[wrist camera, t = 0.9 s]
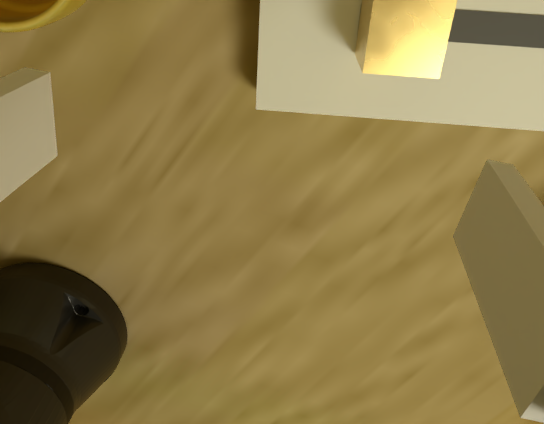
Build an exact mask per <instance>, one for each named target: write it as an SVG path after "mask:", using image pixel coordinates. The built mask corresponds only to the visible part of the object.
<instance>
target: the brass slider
mask: <svg viewBox="0 0 544 424" xmlns="http://www.w3.org/2000/svg"><path fill="white" fill-rule="evenodd" d="M456 4H457V0H362V5H361V12H360V19H359V27H358V34H357V41H356V49H355V56H356V59H357V61H358V63H359V66H360V68H361V71H362V73H366V74H379V75H393V76H407V77H421V78H435V79H439V78H440V74H441V69H442V65H443V61H444V56H445V52H446V48H447V43H448V39H449V34H450V30H451V26H452V21H453V17H454V12H455V8H456Z"/></svg>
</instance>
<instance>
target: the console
mask: <svg viewBox="0 0 544 424" xmlns="http://www.w3.org/2000/svg"><path fill="white" fill-rule="evenodd" d="M361 5H362V0H260V17H259V42H258V67H257V93H256V109H258V110H271V111H285V112H298V113H311V114H324V115H338V116H351V117H364V118H377V119H390V120H404V121H417V122H430V123H443V124H457V125H470V126H483V127H496V128H509V129H523V130H536V131H544V0H457V4H456V8H455V12H454V17H453V21H452V26H451V30H450V34H449V39H448V43H447V48H446V52H445V56H444V61H443V65H442V69H441V74H440V78H439V79H435V78H421V77H407V76H393V75H379V74H366V73H362V71H361V68H360V66H359V63H358V61H357V59H356V56H355V49H356V41H357V34H358V27H359V19H360V12H361Z"/></svg>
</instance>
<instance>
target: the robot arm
mask: <svg viewBox="0 0 544 424" xmlns="http://www.w3.org/2000/svg"><path fill="white" fill-rule="evenodd" d="M55 157H57V144H56V133H55V121H54V110H53V99H52V87H51V76H50V72H46V71H41V70H36V69H31V68H26V67H25V68H23V69H20V70H18V71H16V72H13V73H11V74H9V75H7V76H4V77H2V78H0V202H1V201H2V200H3V199H4V198H6V197H7V196H8V195H9V194H11V193H12V192H13V191H14V190H16V189H17V188H18V187H19V186H21V185H22V184H23V183H24V182H26V181H27V180H28V179H29V178H31V177H32V176H33V175H34V174H36V173H37V172H38V171H39V170H40V169H42V168H43V167H44V166H45V165H47V164H48V163H49V162H50V161H52V160H53V159H54V158H55ZM453 237H454V240H455V243H456V245H457V248H458V251H459V253H460V256H461V259H462V261H463V264H464V267H465V270H466V272H467V275H468V278H469V280H470V283H471V286H472V288H473V291H474V294H475V296H476V299H477V302H478V305H479V307H480V310H481V313H482V315H483V318H484V321H485V323H486V326H487V329H488V331H489V334H490V337H491V340H492V342H493V345H494V348H495V350H496V353H497V356H498V358H499V361H500V364H501V367H502V369H503V372H504V375H505V377H506V380H507V383H508V385H509V388H510V391H511V393H512V396H513V399H514V402H515V404H516V407H517V410H518V412H519V415H520V418H524V419H529V420H534V421H539V422H543V423H544V206H543V204H542V203H541V202H540V200H539V199H538V198H537V196H536V195H535V193H534V192H533V191H532V189H531V188H530V187H529V185H528V184H527V183H526V181H525V180H524V179H523V177H522V176H521V175H520V173H519V172H518V170H517V169H516V168H515V166H514V165H512V164H507V163H502V162H497V161H492V160H487V161H486V163H485V165H484V168H483V170H482V172H481V174H480V177H479V179H478V181H477V183H476V186H475V188H474V190H473V192H472V195H471V197H470V199H469V201H468V204H467V206H466V208H465V210H464V213H463V215H462V217H461V219H460V222H459V224H458V226H457V228H456V231H455V233H454V235H453ZM126 344H127V328H126V324H125V321H124V318H123V316H122V314H121V312H120V310H119V309H118V307H117V306H116V304H115V303H114V302H113V301H112V299H111V298H110V297H109V296H108V295H107V294H106V293H105V292H104V291H103V290H102V289H100V288H99V287H98V286H97V285H95V284H94V283H92V282H91V281H89V280H88V279H86V278H84V277H82V276H80V275H78V274H76V273H74V272H72V271H69V270H67V269H64V268H60V267H57V266H53V265H47V264H40V263H23V264H16V265H12V266H8V267H5V268H3V269H1V270H0V424H68V423H69V421H70V419H71V417H72V415H73V414H74V412H75V411H76V410H77V409H78V408H79V407H80V406H81V405H82V404H83V403H84V402H85V401H86V400H87V399H88V398H89V397H90V396H91V395H92V394H93V393H94V392H95V391H96V390H97V389H98V388H99V387H100V386H101V385H102V383H103V382H105V381H106V380H107V379H108V378H109V377H110V376H111V375H112V373H113V372H114V371H115V369H116V367H117V365H118V363H119V361H120V359H121V357H122V355H123V353H124V350H125V348H126Z"/></svg>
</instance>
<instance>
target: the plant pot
mask: <svg viewBox="0 0 544 424" xmlns="http://www.w3.org/2000/svg"><path fill="white" fill-rule="evenodd" d="M85 2H86V0H0V32H21V31H28V30H32V29H36V28H40V27H43V26H46V25H48V24H51V23H53V22H56V21H58V20H60V19H62V18H64V17H66V16H68V15H70V14H71V13H73V12H74V11H76V10H77V9H78V8H79V7H80V6H82V5H83V4H84V3H85Z"/></svg>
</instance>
